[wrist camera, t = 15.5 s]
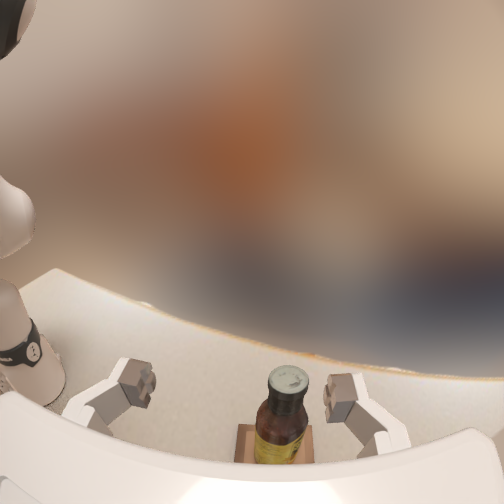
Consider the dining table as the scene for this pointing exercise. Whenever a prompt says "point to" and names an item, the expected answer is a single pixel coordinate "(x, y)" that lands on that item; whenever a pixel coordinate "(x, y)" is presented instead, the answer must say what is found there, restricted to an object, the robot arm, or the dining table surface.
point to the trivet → (247, 441)
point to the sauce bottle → (281, 417)
